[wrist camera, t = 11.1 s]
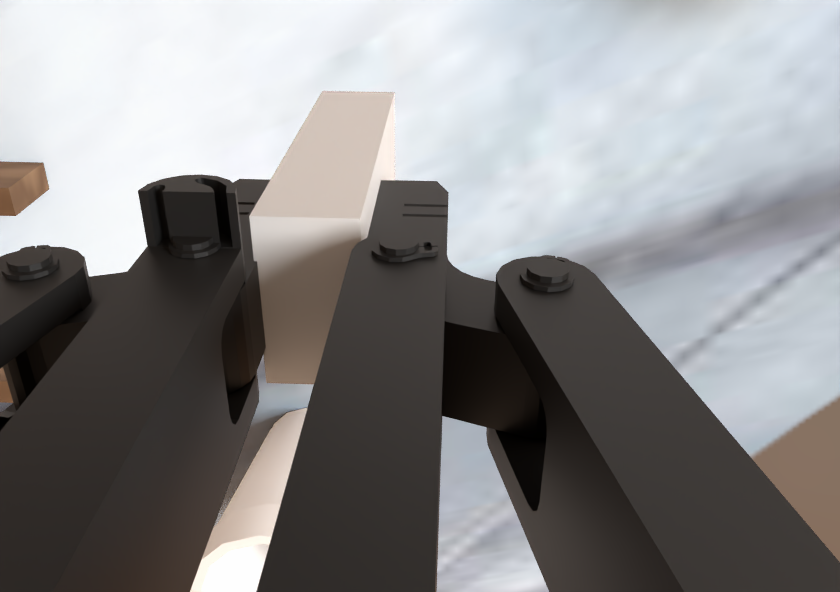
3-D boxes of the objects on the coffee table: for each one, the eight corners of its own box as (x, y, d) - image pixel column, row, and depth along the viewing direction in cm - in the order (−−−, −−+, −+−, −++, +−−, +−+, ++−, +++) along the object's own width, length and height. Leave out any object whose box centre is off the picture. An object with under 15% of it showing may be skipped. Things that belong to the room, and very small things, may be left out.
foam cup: (356, 510, 57) (331, 671, 46) (233, 473, 56) (176, 629, 45) (399, 413, 53) (383, 564, 42) (266, 371, 52) (213, 515, 40)
